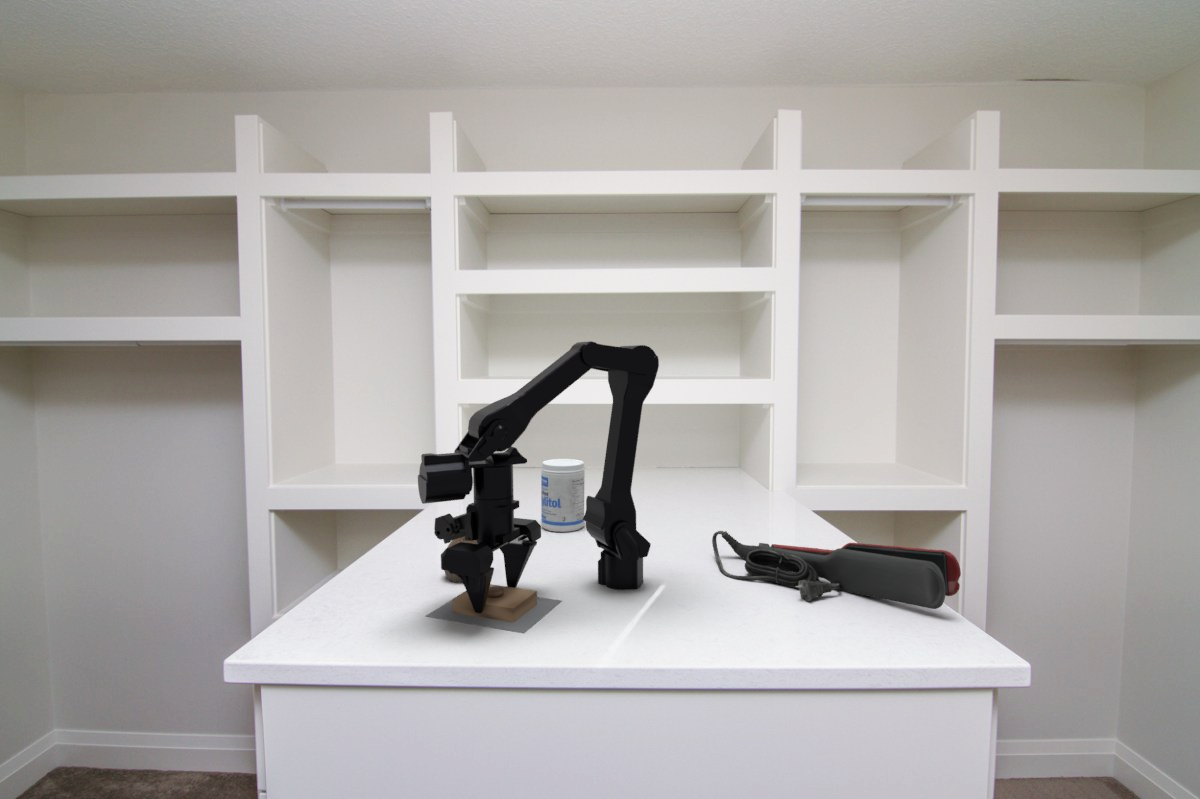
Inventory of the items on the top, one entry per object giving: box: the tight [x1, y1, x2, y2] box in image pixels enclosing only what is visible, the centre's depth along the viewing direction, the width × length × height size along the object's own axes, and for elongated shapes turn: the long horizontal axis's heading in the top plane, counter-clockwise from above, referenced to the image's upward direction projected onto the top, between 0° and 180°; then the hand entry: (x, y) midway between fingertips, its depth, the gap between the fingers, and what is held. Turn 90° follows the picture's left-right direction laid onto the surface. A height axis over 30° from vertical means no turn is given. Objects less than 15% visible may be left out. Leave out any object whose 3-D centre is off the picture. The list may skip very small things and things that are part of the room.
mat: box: [425, 596, 563, 634], centre depth 93 cm, size 16×12×1 cm
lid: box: [452, 583, 538, 622], centre depth 93 cm, size 10×7×3 cm
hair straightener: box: [711, 530, 962, 610], centre depth 103 cm, size 16×40×8 cm, turn 47°
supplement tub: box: [540, 458, 585, 533], centre depth 140 cm, size 10×10×15 cm
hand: (495, 600), depth 93 cm, fingers open, 9 cm apart
